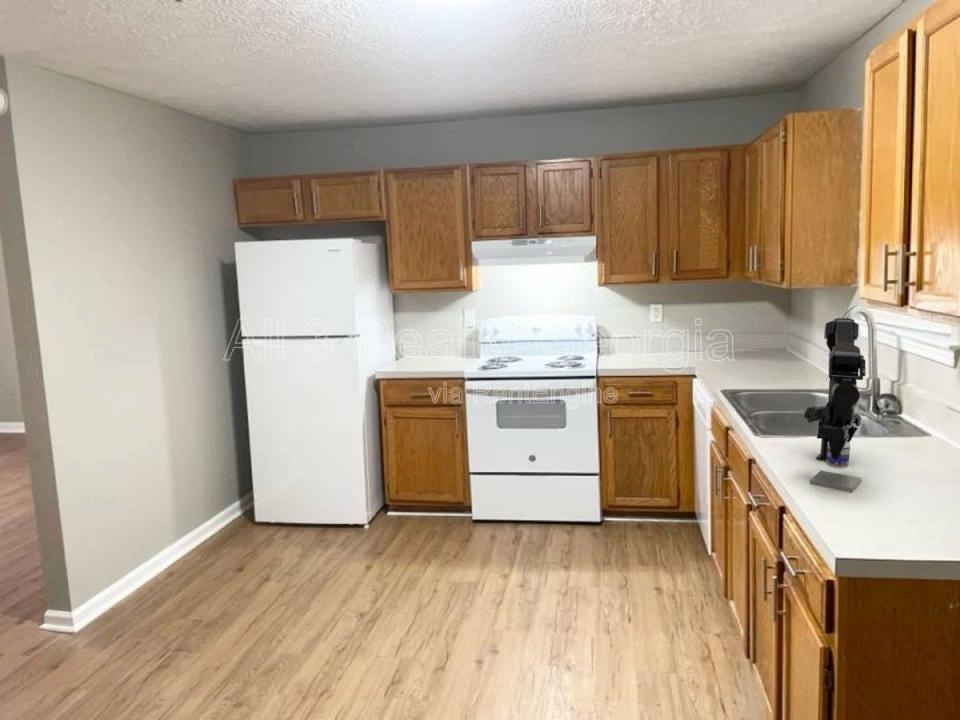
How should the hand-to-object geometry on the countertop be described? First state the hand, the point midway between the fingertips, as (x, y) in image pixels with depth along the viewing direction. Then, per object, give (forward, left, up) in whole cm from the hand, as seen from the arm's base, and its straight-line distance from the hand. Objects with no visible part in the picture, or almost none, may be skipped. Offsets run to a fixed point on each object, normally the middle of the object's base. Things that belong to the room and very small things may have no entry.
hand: (837, 456), depth 185 cm
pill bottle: (0, 0, -3) cm, 3 cm away
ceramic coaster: (0, 0, -7) cm, 7 cm away
